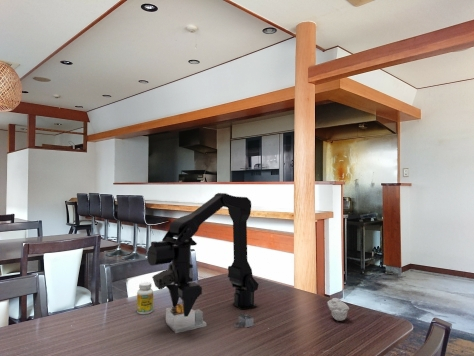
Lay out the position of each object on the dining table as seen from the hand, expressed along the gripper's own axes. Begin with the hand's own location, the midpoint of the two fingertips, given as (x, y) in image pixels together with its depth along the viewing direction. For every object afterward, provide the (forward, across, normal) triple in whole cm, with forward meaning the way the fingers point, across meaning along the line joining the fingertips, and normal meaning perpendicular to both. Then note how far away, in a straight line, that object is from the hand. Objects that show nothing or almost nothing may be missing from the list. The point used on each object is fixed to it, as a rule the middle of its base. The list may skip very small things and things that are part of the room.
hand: (180, 311), depth 104 cm
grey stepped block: (+5, +9, +17) cm, 20 cm away
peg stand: (+5, 0, +2) cm, 5 cm away
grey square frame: (+4, 0, 0) cm, 4 cm away
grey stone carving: (+5, +21, +47) cm, 52 cm away
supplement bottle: (+5, -17, -6) cm, 19 cm away
